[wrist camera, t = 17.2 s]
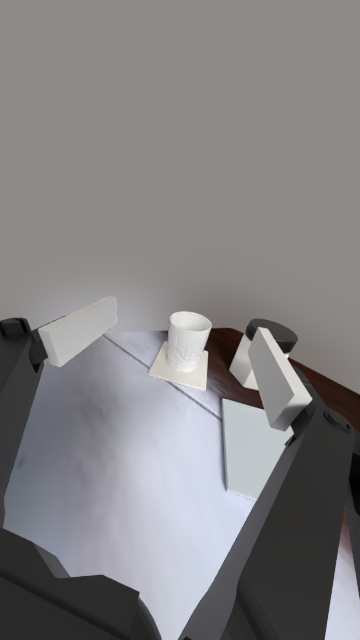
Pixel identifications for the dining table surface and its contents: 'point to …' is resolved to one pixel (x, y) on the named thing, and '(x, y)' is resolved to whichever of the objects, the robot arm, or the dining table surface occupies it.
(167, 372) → the tile shorter
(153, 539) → the dining table surface
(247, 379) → the jar
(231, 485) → the light grey square tile
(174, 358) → the white cup
